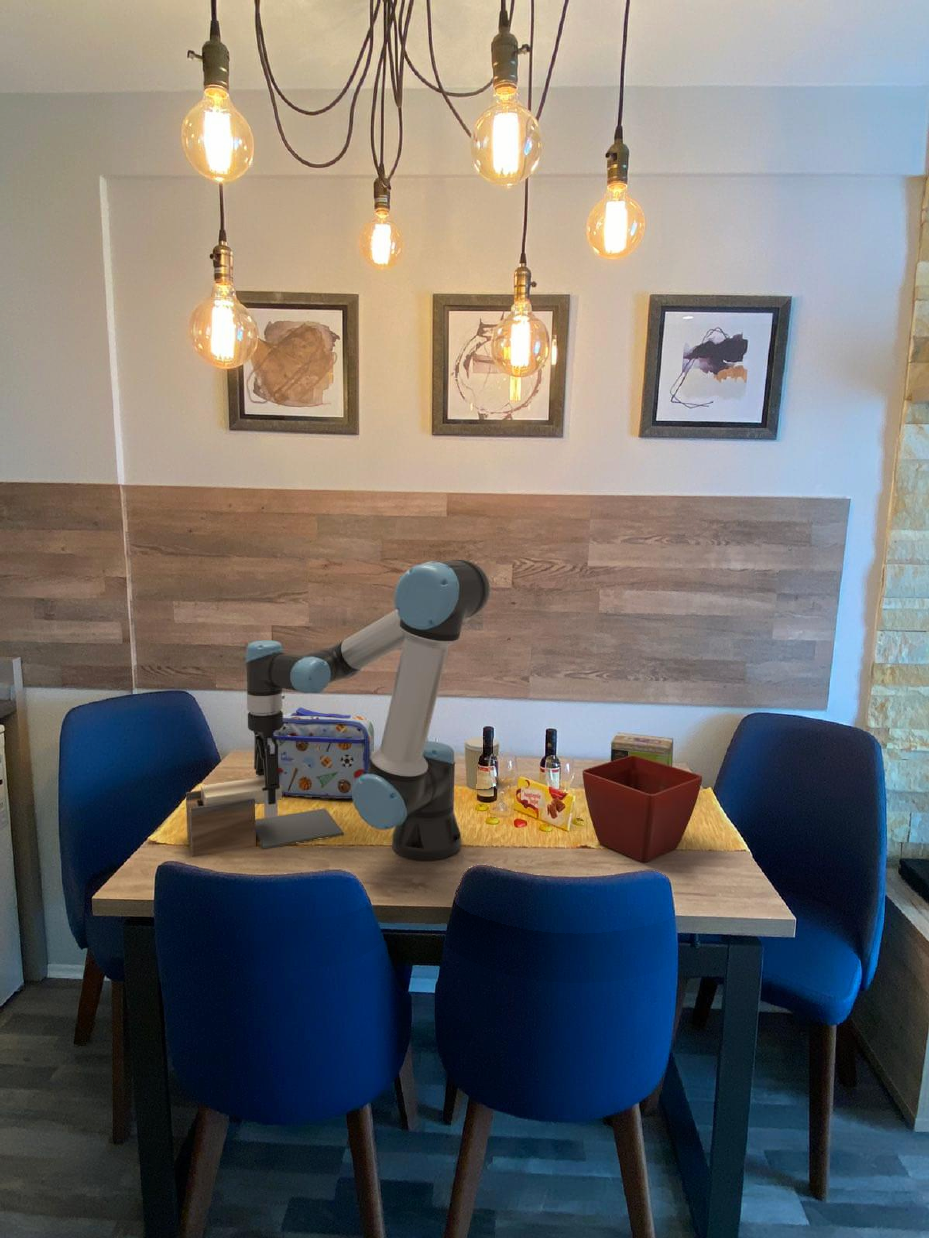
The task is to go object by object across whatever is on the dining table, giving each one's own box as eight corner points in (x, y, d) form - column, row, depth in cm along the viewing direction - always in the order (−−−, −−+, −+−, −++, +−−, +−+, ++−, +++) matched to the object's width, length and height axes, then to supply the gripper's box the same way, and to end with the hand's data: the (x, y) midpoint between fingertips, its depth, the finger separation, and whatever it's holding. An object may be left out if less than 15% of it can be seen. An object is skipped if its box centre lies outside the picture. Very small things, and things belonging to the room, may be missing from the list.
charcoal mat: (343, 834, 170) (343, 832, 170) (262, 849, 163) (262, 846, 162) (325, 810, 184) (325, 808, 184) (249, 822, 176) (249, 820, 176)
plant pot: (629, 820, 181) (633, 753, 179) (699, 848, 167) (704, 775, 165) (576, 842, 169) (579, 770, 167) (647, 874, 155) (652, 796, 152)
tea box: (671, 791, 201) (674, 737, 199) (667, 804, 192) (670, 748, 190) (615, 782, 207) (617, 730, 205) (608, 795, 197) (610, 740, 195)
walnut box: (255, 845, 164) (254, 799, 163) (192, 856, 159) (191, 808, 157) (247, 827, 173) (246, 783, 172) (187, 837, 167) (185, 792, 166)
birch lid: (281, 799, 167) (281, 786, 166) (206, 811, 160) (205, 797, 159) (274, 787, 174) (274, 775, 173) (201, 798, 166) (200, 785, 166)
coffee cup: (504, 782, 205) (505, 740, 203) (487, 793, 197) (488, 749, 195) (474, 776, 209) (475, 734, 208) (457, 786, 201) (457, 743, 200)
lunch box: (261, 797, 191) (259, 713, 188) (275, 783, 201) (274, 703, 198) (368, 804, 188) (368, 718, 185) (377, 788, 199) (377, 707, 195)
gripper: (293, 721, 159) (294, 824, 162) (272, 698, 177) (273, 791, 180) (257, 725, 155) (259, 830, 159) (239, 701, 174) (241, 796, 177)
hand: (267, 809), depth 169 cm, fingers closed on birch lid, 8 cm apart
